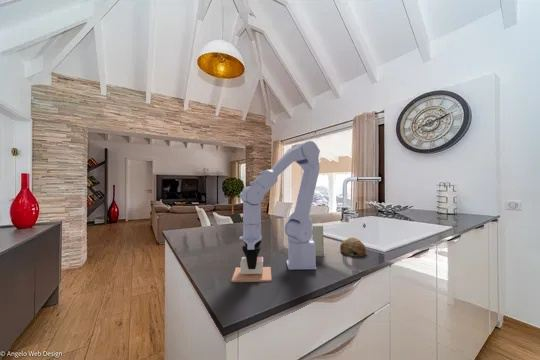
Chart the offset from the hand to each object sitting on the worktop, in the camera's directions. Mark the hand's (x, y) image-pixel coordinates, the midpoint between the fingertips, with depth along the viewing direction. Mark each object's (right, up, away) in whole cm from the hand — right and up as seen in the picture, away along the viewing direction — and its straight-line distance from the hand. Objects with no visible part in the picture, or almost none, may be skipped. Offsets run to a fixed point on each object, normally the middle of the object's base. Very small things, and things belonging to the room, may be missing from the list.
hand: (252, 265), depth 71 cm
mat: (0, -3, 0) cm, 3 cm away
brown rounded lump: (+40, -3, +22) cm, 46 cm away
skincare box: (+26, -3, +20) cm, 32 cm away
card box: (0, -2, 0) cm, 2 cm away
